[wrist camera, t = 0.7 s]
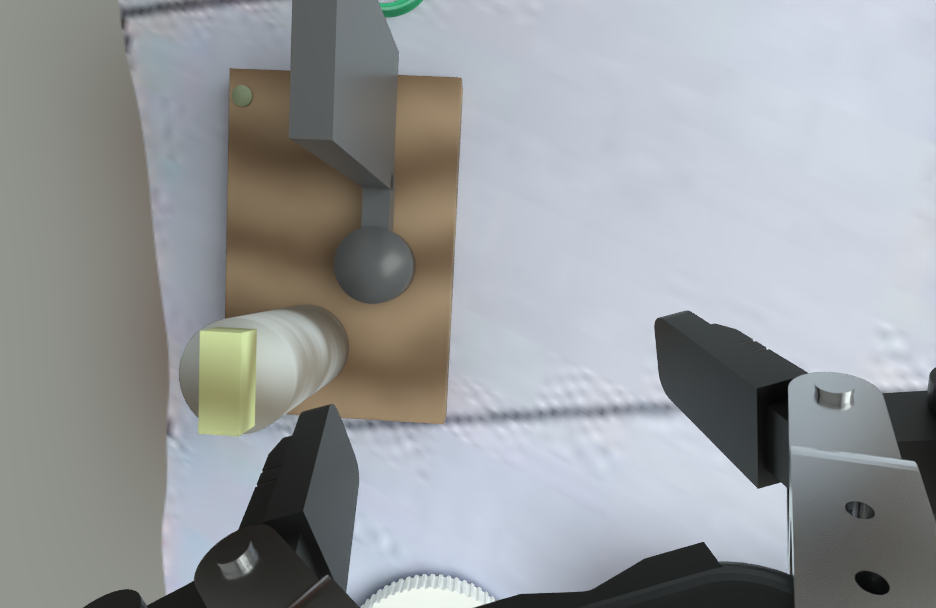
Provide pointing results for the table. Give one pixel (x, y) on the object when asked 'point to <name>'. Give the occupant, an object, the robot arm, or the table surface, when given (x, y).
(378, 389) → the base
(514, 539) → the table surface
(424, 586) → the plastic lid
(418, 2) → the magnifying glass
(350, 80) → the grey panel with handle
